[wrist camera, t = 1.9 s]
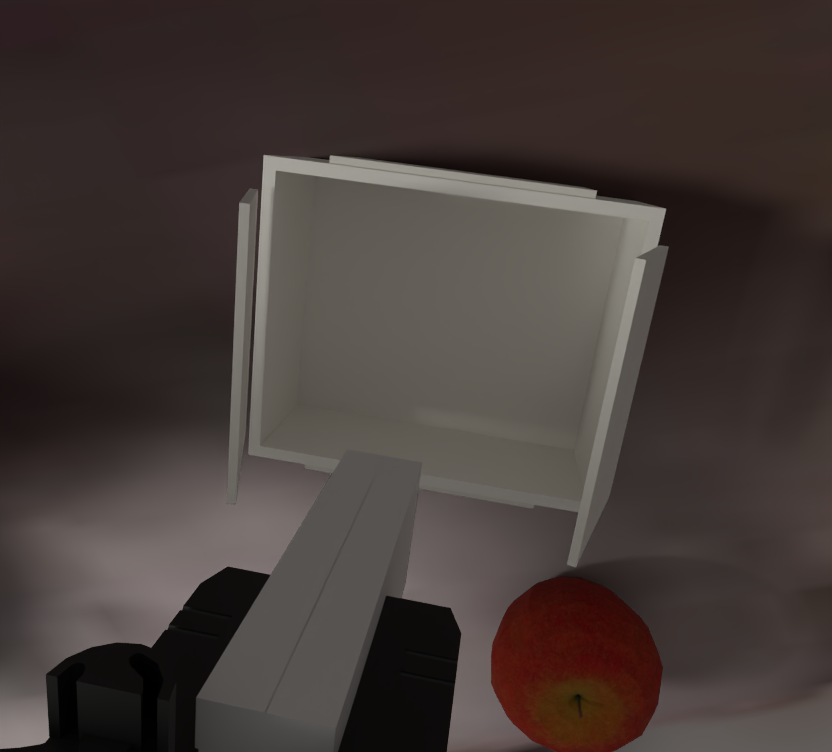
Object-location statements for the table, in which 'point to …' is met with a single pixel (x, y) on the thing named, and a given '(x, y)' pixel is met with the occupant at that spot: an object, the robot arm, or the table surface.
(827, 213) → the table surface
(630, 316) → the flap
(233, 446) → the flap
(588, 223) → the carton
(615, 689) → the apple
